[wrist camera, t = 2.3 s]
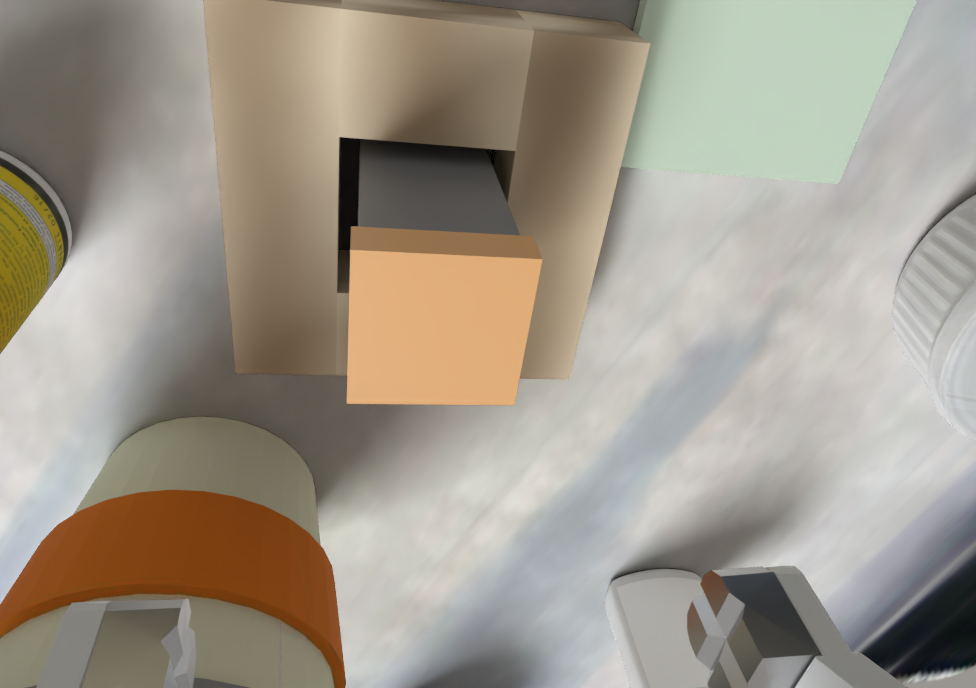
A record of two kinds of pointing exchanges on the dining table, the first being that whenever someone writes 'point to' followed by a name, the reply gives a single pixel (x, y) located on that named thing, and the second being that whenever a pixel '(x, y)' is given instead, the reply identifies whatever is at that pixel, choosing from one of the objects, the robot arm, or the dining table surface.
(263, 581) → the reusable coffee cup
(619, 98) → the socket block
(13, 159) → the supplement bottle
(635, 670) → the eye dropper bottle
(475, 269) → the plug
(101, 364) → the dining table surface
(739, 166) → the coaster
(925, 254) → the ramekin
